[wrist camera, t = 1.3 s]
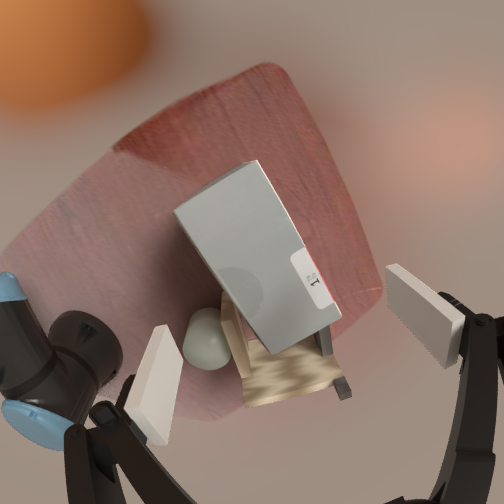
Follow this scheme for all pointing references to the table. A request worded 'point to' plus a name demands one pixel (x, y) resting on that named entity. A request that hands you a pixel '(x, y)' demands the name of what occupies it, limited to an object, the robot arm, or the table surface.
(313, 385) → the shelf bay
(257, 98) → the table surface
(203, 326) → the pale green rounded part
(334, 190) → the table surface
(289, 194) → the table surface
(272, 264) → the hard drive box
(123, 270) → the table surface
